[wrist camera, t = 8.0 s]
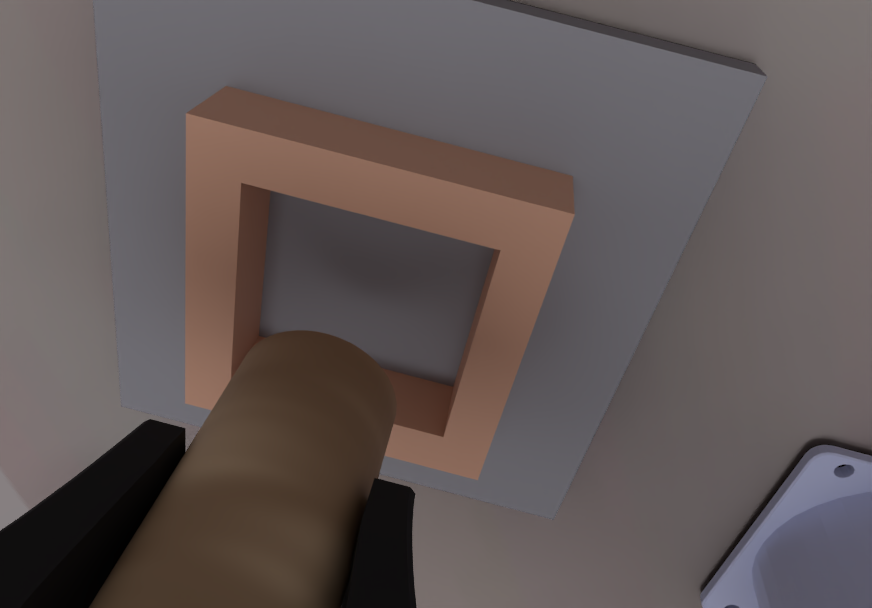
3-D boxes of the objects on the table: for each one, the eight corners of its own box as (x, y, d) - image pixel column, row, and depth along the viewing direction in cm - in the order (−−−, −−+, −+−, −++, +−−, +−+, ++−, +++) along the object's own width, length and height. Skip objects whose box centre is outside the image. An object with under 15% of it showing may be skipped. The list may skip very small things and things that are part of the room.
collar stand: (755, 64, 14) (797, 106, 12) (553, 495, 22) (553, 575, 20) (112, -103, 14) (20, -95, 12) (137, 385, 22) (84, 452, 20)
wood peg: (412, 357, 13) (290, 782, 7) (379, 471, 14) (262, 884, 9) (245, 310, 13) (-20, 695, 7) (233, 430, 14) (16, 816, 9)
